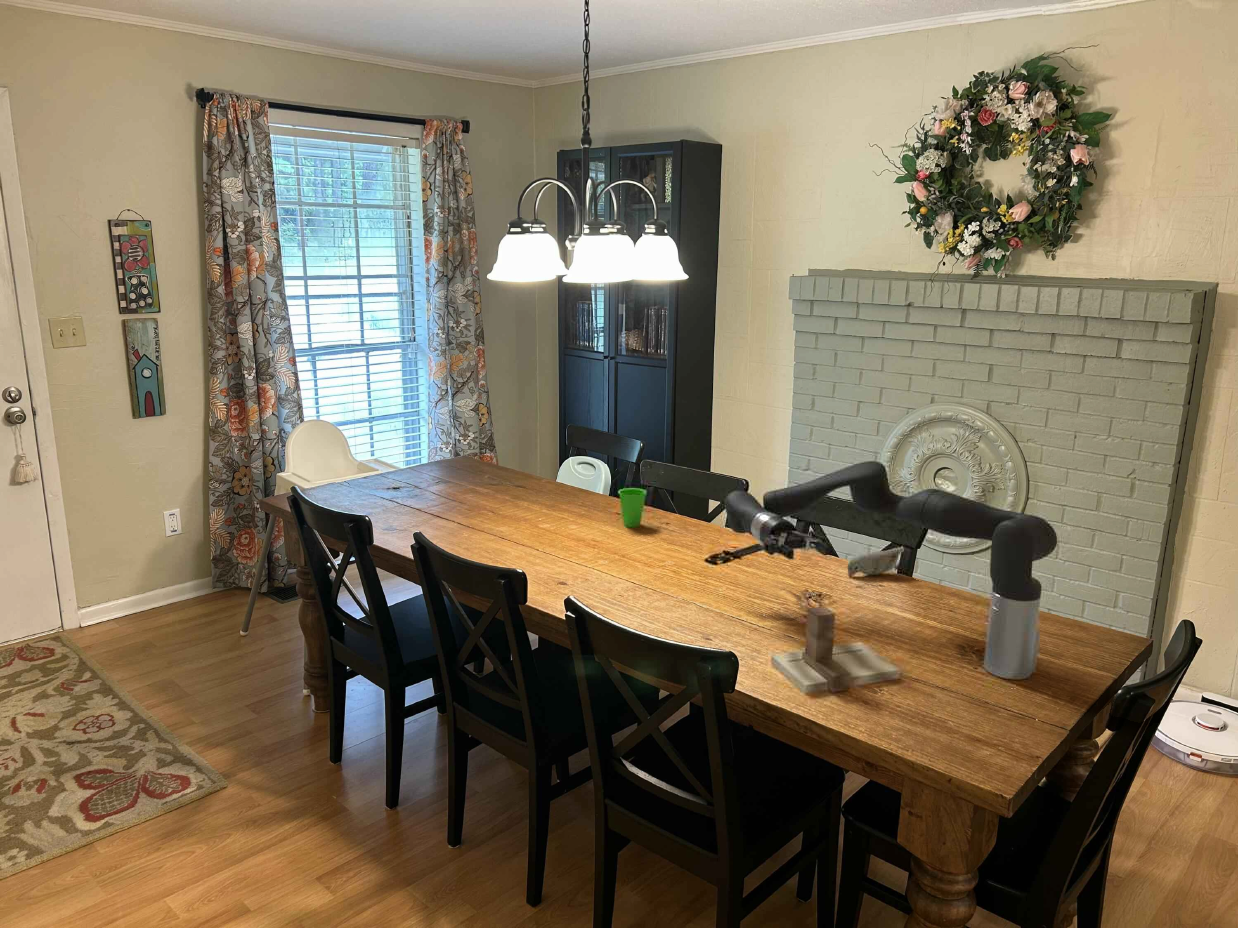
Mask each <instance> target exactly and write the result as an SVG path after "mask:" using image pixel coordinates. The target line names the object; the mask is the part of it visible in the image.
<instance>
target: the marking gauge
mask: <svg viewBox="0 0 1238 928" xmlns="http://www.w3.org/2000/svg"><path fill="white" fill-rule="evenodd" d="M835 620H836V612H834V611H833V610H832V609H829V607H827V606H816V607H809V608H807V614H806V631H805V643H804V645H805V646H804V648H805V649H804V650H801V651H802V659H803V660H804V661H806V662H807V663H808V664H809V665H811V666H812V667H813V668H814V669H815V670H817V671H818V672H819V673H820V674H822V675H823V676H824V677H825V678H827V679H828V680H829V683H828V689H829V690H828V691H831V692H832V693H833V692H840V691H846V690H850V689H851V687H850V678H851V673H850V672H849V671H847V670H846V669H845V668H843V667H842V666H841V665H839V664H838V663H837V662H836V661H834V660H833V659H832V653H833V646H834V640H835V639H834V637H835V636H834V635H835V622H836V621H835Z"/></svg>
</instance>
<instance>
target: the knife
mask: <svg viewBox="0 0 1238 928" xmlns="http://www.w3.org/2000/svg"><path fill="white" fill-rule="evenodd" d="M759 546H760V543H755V544H753V545H749V546H746V547H742V548H740V549H737V550H733V551H730V550H727V549H726V550H725V549H723V550H722V552H719V553H718V552H717V553H714V554H710V555H709V556H707V557H706V558H704V562H705V563H708V564H710V565H714V566H716V565H718V562H720V561H721V563H722V564H724V563H728V562H730V561H731V558H732V559H738V560H740V559H741V556H744V555H748V554H750V553H753V552H756V551H759V550H762V549H761V548H760V547H759ZM723 555H724V556H723ZM715 558H716V559H715Z"/></svg>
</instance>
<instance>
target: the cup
mask: <svg viewBox="0 0 1238 928" xmlns="http://www.w3.org/2000/svg"><path fill="white" fill-rule="evenodd" d="M617 493H618V494H619V501H620V509H621V516H622V521H623V523H622V524H623V525H624V527H626V528H638V527H640V525H641V523H642V522H641V521H642V517H643V510H644V505H645V499H646V495H647V493H648V492H647V490H646V489H643V488H637V487H629V488H622V489H619V490H618V491H617Z"/></svg>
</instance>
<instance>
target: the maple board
mask: <svg viewBox="0 0 1238 928" xmlns="http://www.w3.org/2000/svg"><path fill="white" fill-rule="evenodd" d="M802 651H803V650H799V651H793V652H786V653H780V654H773V655H771V657H770V665H771V666H772V667H773V668H775V670H777V671H778V672H779V673H780V674H781V675H782V676H783V677H785V678H786V679H787V680H788V681H789V682H791V683H792V684H793V685H794V686H795V687H796V688H797V689H798V690H800V692H801V693H803V694H804V695H809V694H815V693H821V692H822V693H823V692H828V691H830V690H829V689H828V683H829V680H828V679H827V678H825V677H824V676H823V675H822V674H820V673H819V672H818V671H817V670H815V669H814V668H813V667H812V666H811V665H809V664H808V663H807V662H806V661H804V660H803V659H802ZM832 659H833V660H834V661H836V662H837V663H838V664H839V665H841V666H842V667H843V668H845V669H846V670H847V671H849V672H850V673H851V678H850V688H851V687H855V686H856V687H857V686H862V685H868V684H873V683H879V682H880V683H881V682H885V681H891V680H896V679H900V673H901V671H900V670H901V669H900V668H899V667H897V666H896V665H895V664H893V663H892V662H890V661H888V660H887V659H886V658H885V657H883V656H881V655H880V654H878V653H877V652H876V651H874V650H873V649H871V648H870V647H868V646H867V645H865V644H864V643H862V642H861V641H858V642H852V643H846V644H839V645H833V653H832Z"/></svg>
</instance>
